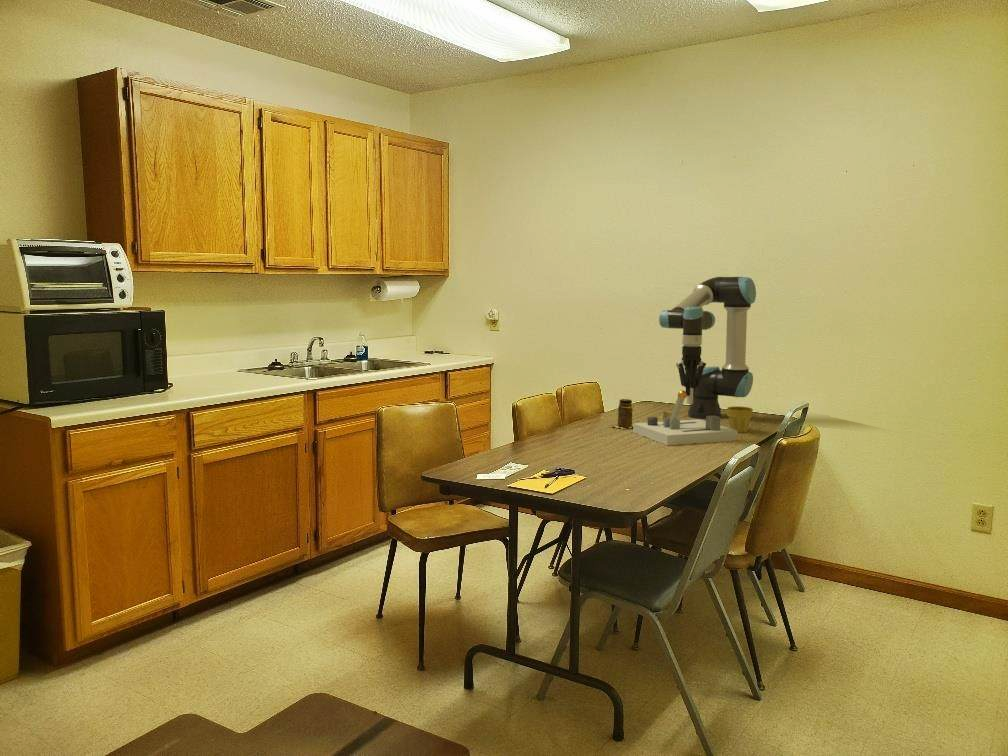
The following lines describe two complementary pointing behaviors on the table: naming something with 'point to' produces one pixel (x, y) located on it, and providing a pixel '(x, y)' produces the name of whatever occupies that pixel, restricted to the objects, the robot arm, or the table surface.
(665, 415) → the brass slider
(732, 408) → the plant pot
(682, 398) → the toggle lever
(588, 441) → the table surface
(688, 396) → the robot arm
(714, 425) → the grey slider
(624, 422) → the condiment
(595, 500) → the table surface
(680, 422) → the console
